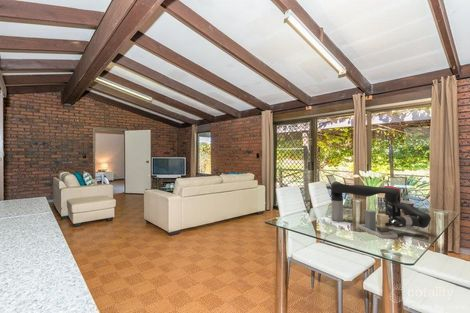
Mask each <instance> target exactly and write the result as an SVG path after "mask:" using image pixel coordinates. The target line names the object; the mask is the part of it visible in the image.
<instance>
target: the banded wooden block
mask: <svg viewBox="0 0 470 313" xmlns="http://www.w3.org/2000/svg"><path fill="white" fill-rule="evenodd" d="M389 219H390V218H389V216H388V215H386V213H378V214H376V226H377V233H378V234H381V235H389V231H390V226H385V223H389Z"/></svg>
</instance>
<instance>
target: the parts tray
mask: <svg viewBox="0 0 470 313" xmlns="http://www.w3.org/2000/svg"><path fill="white" fill-rule="evenodd" d="M357 227H358V229H360V230H362V231H364V232H366V233H368V234H371V235H373V236H375V237H377V238H379V239H383V240H384V239H393V238H395V239H396V238H398V237H399V236H398V234H397V233H394V232H392V231H390V230H389V235H381V234H378V233H377V225H376V230H370V229H367V228H365V223H363V224H357Z"/></svg>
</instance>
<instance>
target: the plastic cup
mask: <svg viewBox="0 0 470 313" xmlns="http://www.w3.org/2000/svg"><path fill="white" fill-rule="evenodd" d="M400 203H406V204H410V205H412V206H413V207H414V205H415V204H416V203H415V202H414V201H411V200H400ZM402 212H403V215H404V216H409V215H408V214H407V213H406V212H404V211H403V210H402Z"/></svg>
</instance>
